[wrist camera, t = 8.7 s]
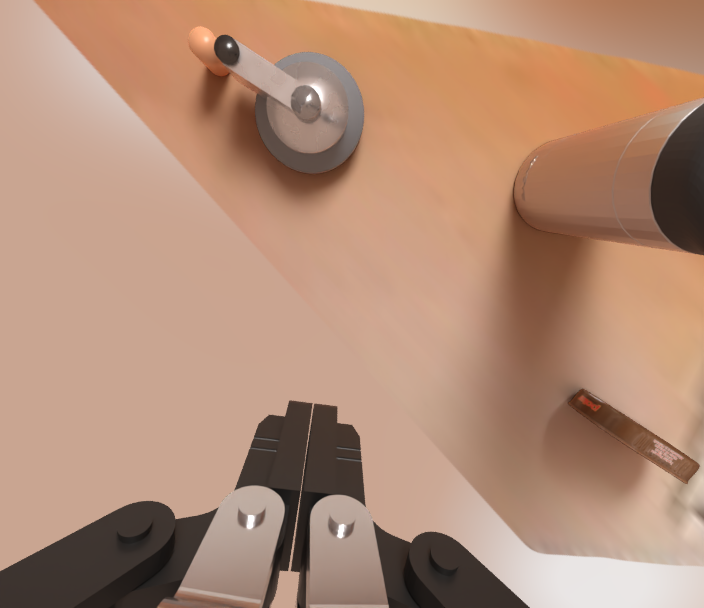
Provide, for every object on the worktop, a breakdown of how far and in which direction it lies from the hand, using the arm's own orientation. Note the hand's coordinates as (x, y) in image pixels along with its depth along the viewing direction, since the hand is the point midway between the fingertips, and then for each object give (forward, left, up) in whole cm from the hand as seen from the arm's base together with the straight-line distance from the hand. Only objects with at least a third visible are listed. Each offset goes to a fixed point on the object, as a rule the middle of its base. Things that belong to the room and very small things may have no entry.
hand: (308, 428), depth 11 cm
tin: (-37, +13, -29) cm, 49 cm away
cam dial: (+6, -15, -27) cm, 31 cm away
